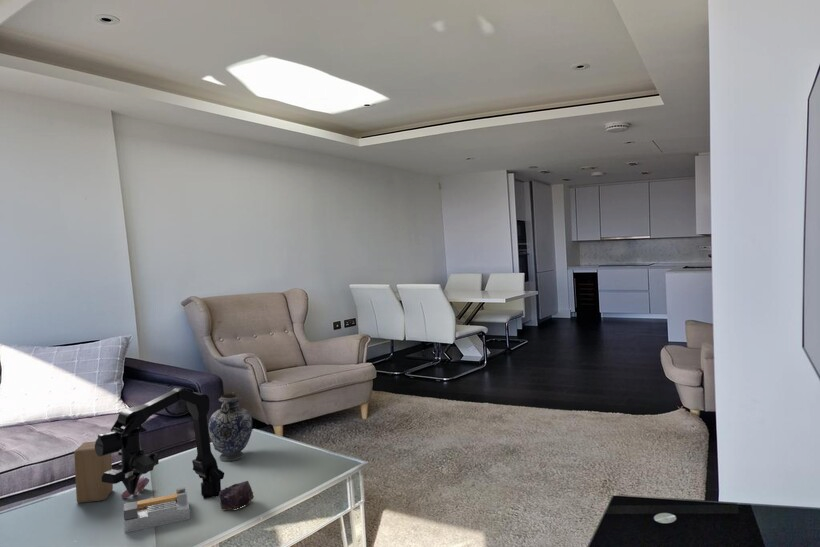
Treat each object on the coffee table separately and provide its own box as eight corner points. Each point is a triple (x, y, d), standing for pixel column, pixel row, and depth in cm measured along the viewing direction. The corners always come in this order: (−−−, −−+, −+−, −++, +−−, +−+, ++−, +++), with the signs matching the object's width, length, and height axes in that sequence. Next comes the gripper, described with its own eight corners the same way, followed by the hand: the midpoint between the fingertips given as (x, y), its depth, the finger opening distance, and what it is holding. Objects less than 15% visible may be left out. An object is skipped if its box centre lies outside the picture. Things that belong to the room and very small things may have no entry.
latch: (137, 509, 191) (137, 501, 190) (137, 517, 185) (137, 508, 185) (124, 512, 189) (124, 503, 189) (124, 520, 183) (123, 510, 183)
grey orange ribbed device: (187, 502, 204) (186, 485, 204) (189, 519, 192) (189, 500, 191) (125, 514, 196) (125, 496, 196) (124, 532, 183) (123, 513, 183)
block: (85, 492, 215) (83, 441, 214) (113, 489, 217) (111, 439, 216) (75, 504, 205) (73, 450, 204) (105, 501, 207) (102, 448, 206)
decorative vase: (215, 449, 258) (214, 389, 257) (256, 447, 260) (255, 388, 259) (203, 467, 237) (202, 402, 236) (248, 465, 239) (247, 401, 238)
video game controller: (129, 503, 208) (136, 487, 207) (119, 497, 209) (126, 481, 208) (146, 492, 218) (153, 477, 217) (137, 486, 218) (143, 471, 218)
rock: (220, 508, 202) (225, 519, 193) (215, 486, 201) (220, 496, 192) (253, 496, 207) (258, 506, 198) (248, 474, 206) (253, 484, 197)
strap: (183, 495, 200) (183, 491, 200) (183, 499, 198) (183, 495, 198) (125, 507, 192) (124, 503, 192) (124, 510, 190) (124, 506, 190)
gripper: (126, 460, 174) (127, 509, 175) (170, 441, 192) (171, 486, 192) (99, 456, 178) (101, 504, 178) (145, 438, 196) (146, 481, 196)
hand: (131, 493), depth 186 cm, fingers closed
